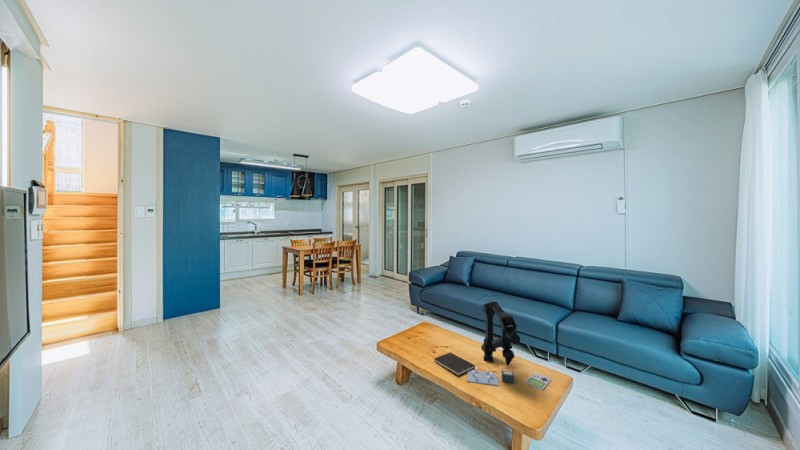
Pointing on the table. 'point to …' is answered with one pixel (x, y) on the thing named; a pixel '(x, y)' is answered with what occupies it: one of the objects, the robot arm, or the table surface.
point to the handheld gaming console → (538, 381)
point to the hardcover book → (454, 364)
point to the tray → (482, 377)
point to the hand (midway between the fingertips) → (506, 361)
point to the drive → (507, 377)
